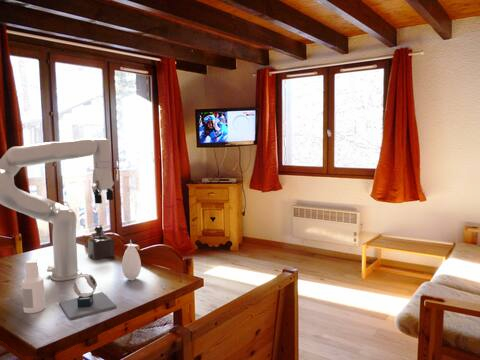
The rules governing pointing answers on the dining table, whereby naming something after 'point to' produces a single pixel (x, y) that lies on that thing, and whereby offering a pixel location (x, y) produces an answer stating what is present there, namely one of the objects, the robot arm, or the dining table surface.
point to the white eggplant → (131, 263)
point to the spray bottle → (33, 289)
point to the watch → (85, 298)
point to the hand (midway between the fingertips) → (104, 201)
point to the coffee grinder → (100, 245)
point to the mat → (98, 305)
